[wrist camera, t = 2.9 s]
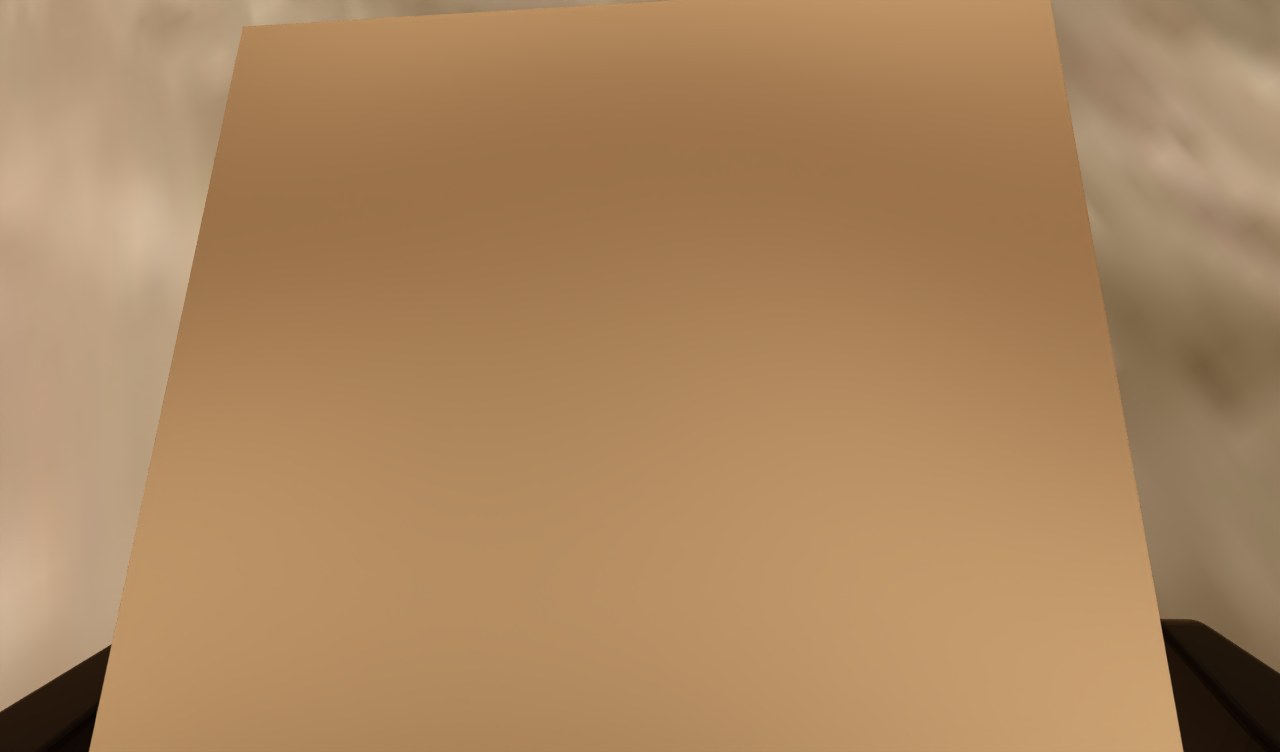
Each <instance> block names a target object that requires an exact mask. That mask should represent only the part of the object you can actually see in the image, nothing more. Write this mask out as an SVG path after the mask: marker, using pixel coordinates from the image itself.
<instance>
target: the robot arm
mask: <svg viewBox="0 0 1280 752" xmlns="http://www.w3.org/2000/svg"><path fill="white" fill-rule="evenodd" d="M1160 623H1161V628H1162V634H1163V640H1164V645H1165V651H1166V656H1167V662H1168V668H1169V673H1170V679H1171V685H1172V690H1173V696H1174V701H1175V707H1176V713H1177V718H1178V724H1179V730H1180V735H1181V741H1182V747H1183V752H1280V673H1278V672H1277V671H1275V670H1274V669H1272V668H1271V667H1269V666H1268V665H1266V664H1265V663H1263V662H1262V661H1260V660H1259V659H1257V658H1256V657H1254V656H1253V655H1251V654H1250V653H1248V652H1247V651H1245V650H1243V649H1242V648H1240V647H1239V646H1237V645H1236V644H1234V643H1233V642H1231V641H1230V640H1228V639H1227V638H1225V637H1224V636H1222V635H1221V634H1219V633H1218V632H1216V631H1215V630H1213V629H1212V628H1210V627H1209V626H1207V625H1205V624H1203V623H1201V622H1199V621H1196V620H1190V619H1160ZM111 646H112V644H111V645H110V646H108V647H106V648H105V649H103V650H101V651H100V652H98V653H96V654H95V655H93V656H92V657H90V658H88V659H87V660H85V661H83V662H82V663H80V664H78V665H77V666H75V667H73V668H72V669H70V670H68V671H67V672H65V673H64V674H62V675H60V676H59V677H57V678H55V679H54V680H52V681H50V682H49V683H47V684H45V685H44V686H42V687H41V688H39V689H37V690H36V691H34V692H32V693H31V694H29V695H27V696H26V697H24V698H22V699H21V700H19V701H18V702H16V703H14V704H13V705H11V706H9V707H8V708H6V709H4V710H3V711H1V712H0V752H89V749H90V745H91V740H92V735H93V730H94V726H95V721H96V716H97V712H98V707H99V702H100V697H101V693H102V688H103V683H104V679H105V674H106V669H107V665H108V660H109V655H110V650H111Z"/></svg>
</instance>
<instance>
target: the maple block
mask: <svg viewBox="0 0 1280 752" xmlns="http://www.w3.org/2000/svg"><path fill="white" fill-rule="evenodd" d="M89 752H1183V747H1182V741H1181V735H1180V730H1179V724H1178V718H1177V713H1176V707H1175V701H1174V696H1173V690H1172V685H1171V679H1170V673H1169V668H1168V662H1167V656H1166V651H1165V645H1164V640H1163V634H1162V628H1161V623H1160V617H1159V611H1158V606H1157V600H1156V594H1155V589H1154V583H1153V578H1152V572H1151V566H1150V561H1149V555H1148V549H1147V544H1146V538H1145V533H1144V527H1143V521H1142V516H1141V510H1140V504H1139V499H1138V493H1137V487H1136V482H1135V476H1134V471H1133V465H1132V459H1131V454H1130V448H1129V442H1128V437H1127V431H1126V425H1125V420H1124V414H1123V409H1122V403H1121V397H1120V392H1119V386H1118V380H1117V375H1116V369H1115V364H1114V358H1113V352H1112V347H1111V341H1110V335H1109V330H1108V324H1107V318H1106V313H1105V307H1104V302H1103V296H1102V290H1101V285H1100V279H1099V273H1098V268H1097V262H1096V256H1095V251H1094V245H1093V240H1092V234H1091V228H1090V223H1089V217H1088V211H1087V206H1086V200H1085V195H1084V189H1083V183H1082V178H1081V172H1080V166H1079V161H1078V155H1077V149H1076V144H1075V138H1074V133H1073V127H1072V121H1071V116H1070V110H1069V104H1068V99H1067V93H1066V87H1065V82H1064V76H1063V71H1062V65H1061V59H1060V54H1059V48H1058V42H1057V37H1056V31H1055V26H1054V20H1053V14H1052V9H1051V3H1050V0H673V1H656V2H640V3H624V4H607V5H591V6H574V7H558V8H542V9H525V10H509V11H492V12H476V13H460V14H443V15H427V16H410V17H394V18H378V19H361V20H345V21H329V22H312V23H296V24H279V25H263V26H247V27H243V29H242V34H241V39H240V43H239V48H238V53H237V58H236V62H235V67H234V72H233V76H232V81H231V86H230V90H229V95H228V100H227V105H226V109H225V114H224V119H223V123H222V128H221V133H220V138H219V142H218V147H217V152H216V156H215V161H214V166H213V170H212V175H211V180H210V185H209V189H208V194H207V199H206V203H205V208H204V213H203V218H202V222H201V227H200V232H199V236H198V241H197V246H196V250H195V255H194V260H193V265H192V269H191V274H190V279H189V283H188V288H187V293H186V298H185V302H184V307H183V312H182V316H181V321H180V326H179V330H178V335H177V340H176V345H175V349H174V354H173V359H172V363H171V368H170V373H169V378H168V382H167V387H166V392H165V396H164V401H163V406H162V410H161V415H160V420H159V425H158V429H157V434H156V439H155V443H154V448H153V453H152V458H151V462H150V467H149V472H148V476H147V481H146V486H145V490H144V495H143V500H142V505H141V509H140V514H139V519H138V523H137V528H136V533H135V537H134V542H133V547H132V552H131V556H130V561H129V566H128V570H127V575H126V580H125V585H124V589H123V594H122V599H121V603H120V608H119V613H118V617H117V622H116V627H115V632H114V636H113V641H112V646H111V650H110V655H109V660H108V665H107V669H106V674H105V679H104V683H103V688H102V693H101V697H100V702H99V707H98V712H97V716H96V721H95V726H94V730H93V735H92V740H91V745H90V749H89Z"/></svg>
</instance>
